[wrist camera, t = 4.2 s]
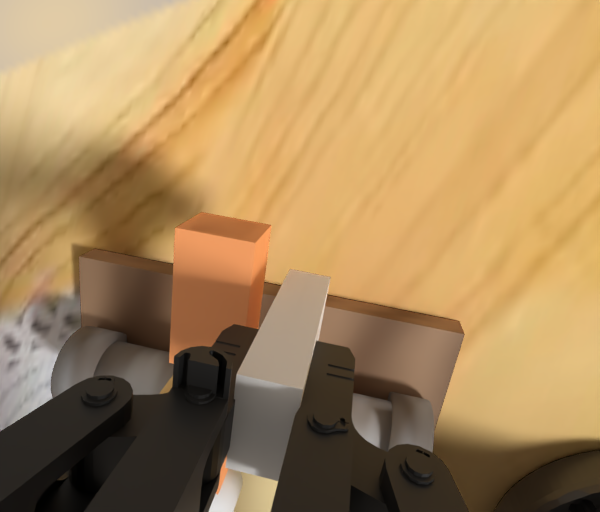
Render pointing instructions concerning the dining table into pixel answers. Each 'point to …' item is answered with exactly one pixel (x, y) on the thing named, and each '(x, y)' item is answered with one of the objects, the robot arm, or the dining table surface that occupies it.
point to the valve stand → (334, 329)
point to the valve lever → (217, 296)
